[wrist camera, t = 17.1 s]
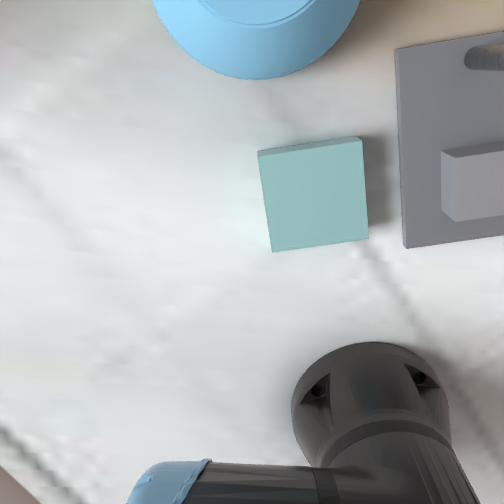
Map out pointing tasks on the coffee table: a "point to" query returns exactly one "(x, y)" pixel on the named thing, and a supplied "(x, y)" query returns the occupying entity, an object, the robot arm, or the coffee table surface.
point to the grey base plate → (450, 143)
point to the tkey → (485, 58)
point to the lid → (314, 193)
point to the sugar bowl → (256, 32)
